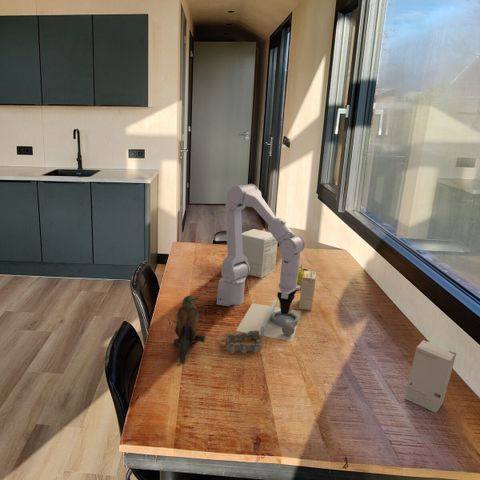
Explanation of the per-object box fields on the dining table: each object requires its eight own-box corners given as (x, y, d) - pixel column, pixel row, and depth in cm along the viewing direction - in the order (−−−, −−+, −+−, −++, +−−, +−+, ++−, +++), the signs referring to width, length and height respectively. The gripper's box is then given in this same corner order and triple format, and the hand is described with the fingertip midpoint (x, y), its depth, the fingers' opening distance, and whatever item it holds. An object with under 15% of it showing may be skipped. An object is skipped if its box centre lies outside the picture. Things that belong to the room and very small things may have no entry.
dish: (268, 324, 142) (269, 320, 141) (273, 313, 150) (274, 309, 150) (296, 329, 140) (296, 324, 139) (299, 317, 148) (299, 313, 148)
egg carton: (259, 342, 133) (260, 330, 132) (261, 355, 125) (262, 342, 124) (225, 340, 132) (225, 328, 131) (225, 353, 125) (226, 340, 124)
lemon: (289, 288, 177) (291, 265, 174) (293, 283, 182) (295, 261, 179) (305, 291, 175) (307, 268, 172) (308, 286, 180) (311, 264, 177)
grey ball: (280, 336, 134) (281, 325, 133) (282, 331, 138) (283, 319, 137) (293, 339, 133) (294, 327, 132) (294, 333, 137) (296, 321, 136)
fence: (260, 335, 134) (261, 326, 133) (273, 306, 156) (274, 299, 155) (263, 336, 134) (264, 327, 133) (276, 307, 155) (277, 299, 155)
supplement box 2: (311, 313, 155) (315, 278, 151) (298, 311, 156) (302, 277, 152) (312, 304, 163) (316, 271, 159) (300, 302, 164) (303, 269, 160)
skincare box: (403, 399, 109) (413, 346, 105) (411, 389, 113) (421, 338, 109) (438, 414, 104) (450, 360, 100) (445, 403, 108) (457, 350, 104)
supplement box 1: (275, 270, 196) (279, 233, 192) (261, 278, 186) (264, 239, 181) (251, 264, 203) (253, 228, 198) (235, 271, 192) (238, 233, 188)
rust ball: (278, 313, 143) (279, 302, 142) (280, 309, 146) (281, 298, 145) (290, 315, 142) (291, 304, 141) (292, 311, 146) (293, 300, 145)
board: (235, 333, 136) (235, 330, 136) (252, 305, 158) (252, 303, 157) (292, 344, 132) (292, 341, 132) (301, 313, 154) (301, 311, 153)
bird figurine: (202, 365, 116) (207, 291, 122) (166, 363, 116) (173, 289, 122) (206, 364, 129) (210, 298, 135) (173, 362, 129) (179, 296, 135)
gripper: (298, 281, 133) (294, 321, 136) (304, 267, 146) (300, 304, 150) (276, 278, 134) (272, 318, 138) (283, 264, 148) (280, 301, 151)
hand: (285, 310), depth 144 cm, fingers closed on rust ball, 4 cm apart
